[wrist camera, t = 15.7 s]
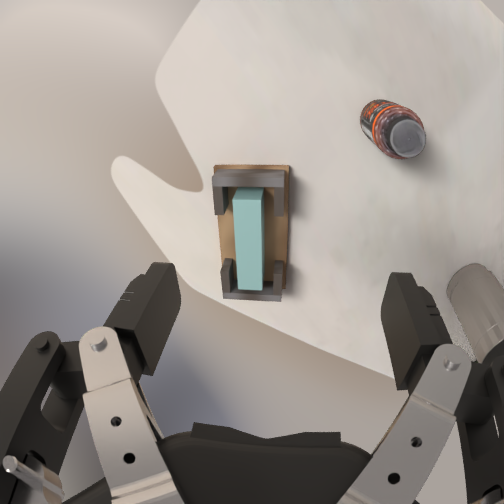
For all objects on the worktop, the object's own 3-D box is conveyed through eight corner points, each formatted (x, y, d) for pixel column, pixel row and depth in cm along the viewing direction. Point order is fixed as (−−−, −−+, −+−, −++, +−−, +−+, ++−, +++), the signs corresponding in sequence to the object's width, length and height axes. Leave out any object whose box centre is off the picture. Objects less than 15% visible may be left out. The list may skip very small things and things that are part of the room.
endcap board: (288, 165, 41) (288, 175, 37) (285, 285, 52) (284, 303, 48) (215, 165, 42) (207, 175, 38) (225, 282, 53) (220, 299, 49)
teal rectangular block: (263, 187, 42) (260, 199, 38) (264, 272, 50) (262, 290, 46) (238, 186, 42) (232, 199, 39) (242, 271, 50) (238, 289, 46)
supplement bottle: (381, 89, 34) (412, 97, 24) (409, 123, 35) (445, 143, 26) (349, 118, 37) (369, 135, 27) (378, 151, 38) (405, 178, 29)
